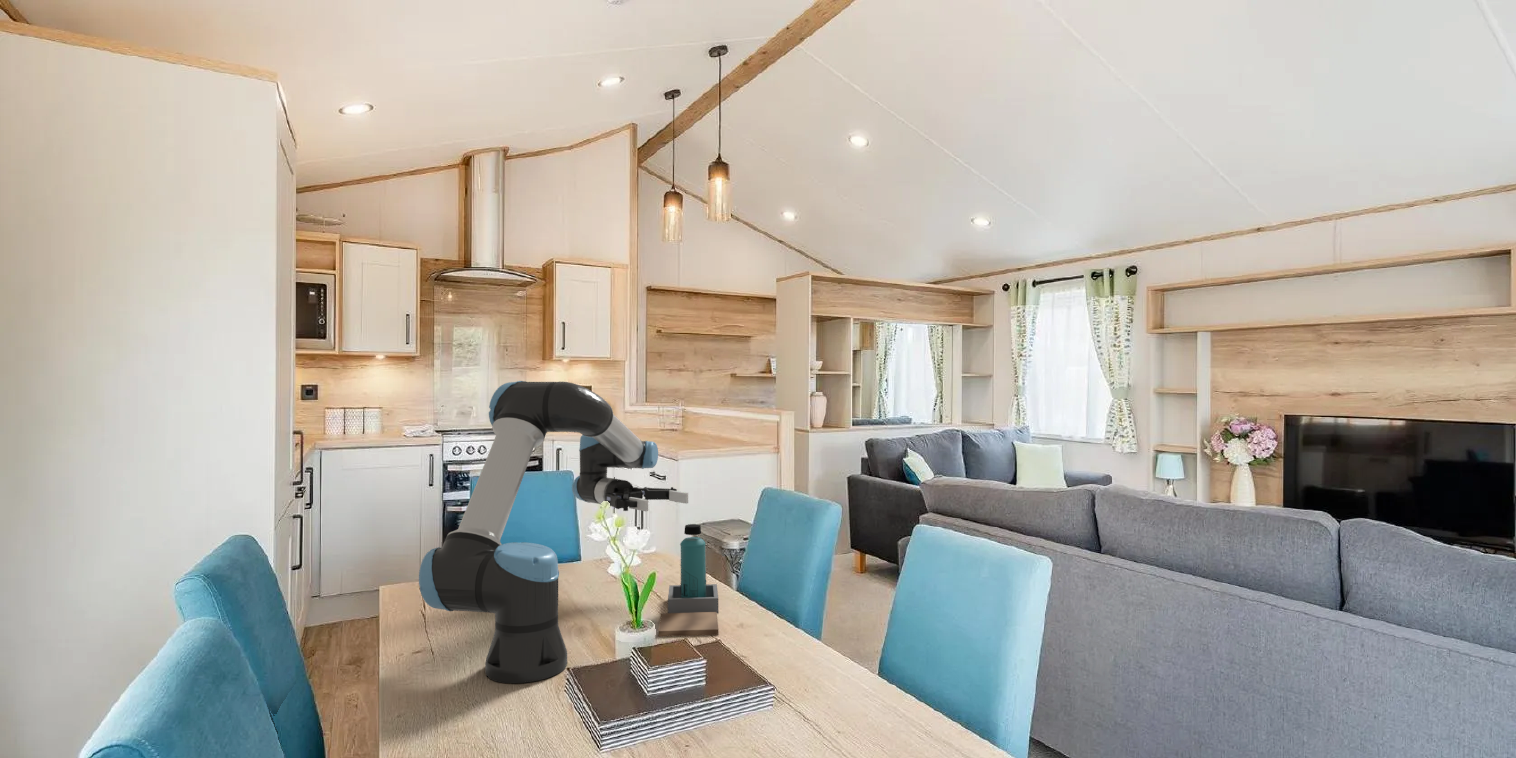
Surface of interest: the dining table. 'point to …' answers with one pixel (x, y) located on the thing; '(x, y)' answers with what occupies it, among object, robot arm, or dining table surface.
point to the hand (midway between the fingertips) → (667, 501)
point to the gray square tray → (692, 601)
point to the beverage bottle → (693, 564)
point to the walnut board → (688, 624)
